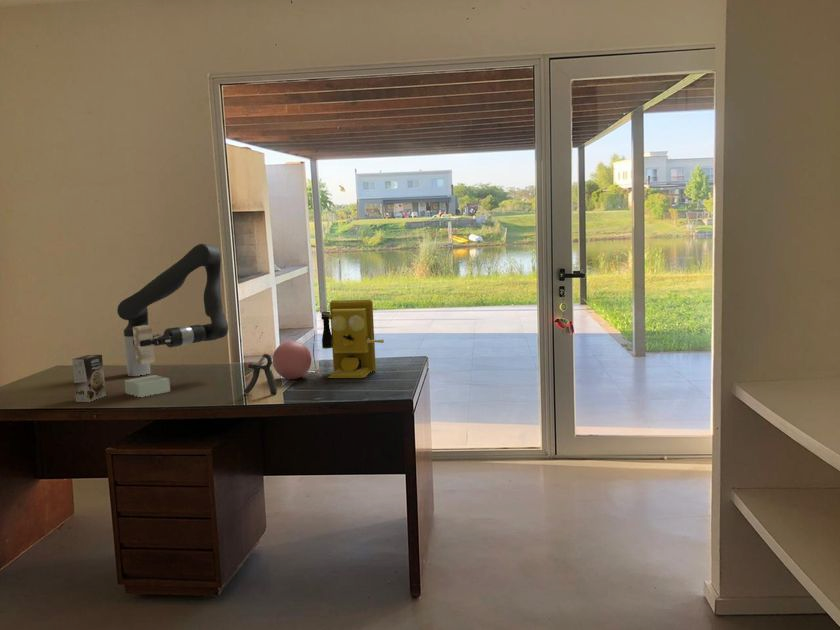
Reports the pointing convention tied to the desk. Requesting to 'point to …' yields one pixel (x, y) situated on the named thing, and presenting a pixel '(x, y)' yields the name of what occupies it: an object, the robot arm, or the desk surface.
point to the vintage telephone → (350, 338)
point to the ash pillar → (146, 352)
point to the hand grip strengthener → (267, 372)
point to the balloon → (292, 360)
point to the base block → (147, 386)
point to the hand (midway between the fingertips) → (137, 343)
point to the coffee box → (88, 378)
